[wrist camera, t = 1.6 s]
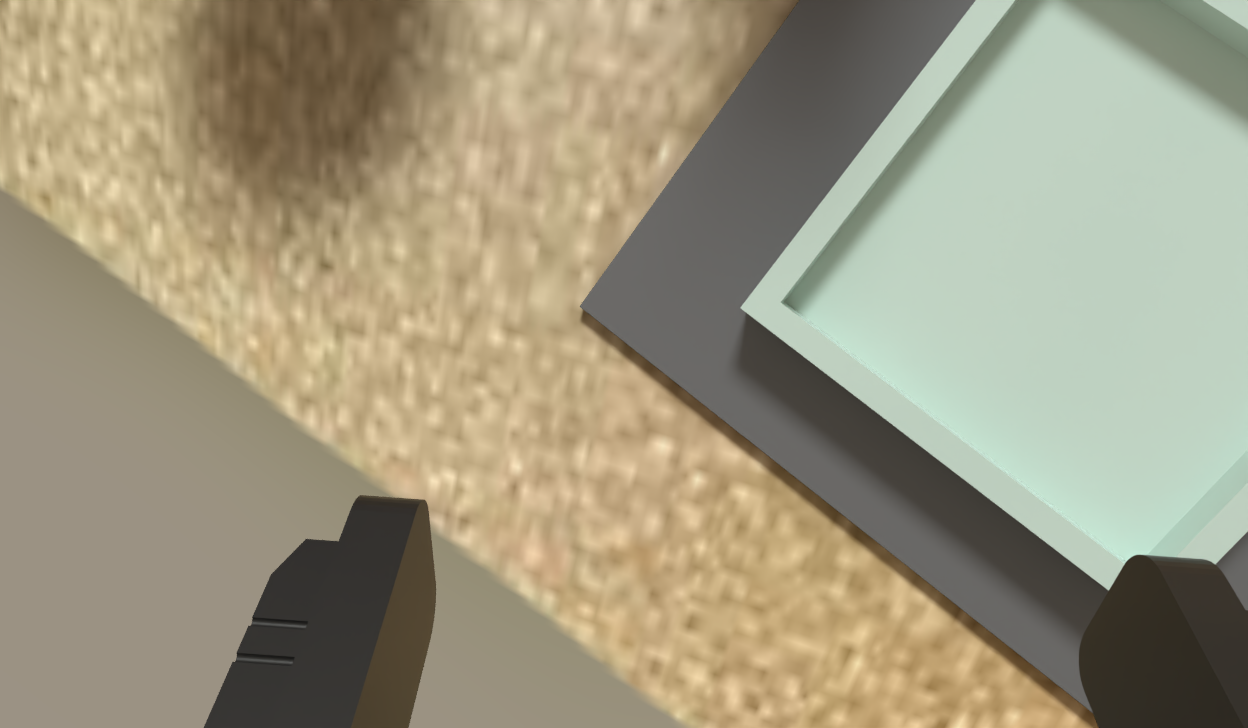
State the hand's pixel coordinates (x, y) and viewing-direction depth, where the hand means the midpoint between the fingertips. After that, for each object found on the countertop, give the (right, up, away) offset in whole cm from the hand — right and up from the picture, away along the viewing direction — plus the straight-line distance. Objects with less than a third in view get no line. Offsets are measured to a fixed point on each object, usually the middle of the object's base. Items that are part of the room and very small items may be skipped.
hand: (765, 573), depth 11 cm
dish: (+11, +5, +14) cm, 19 cm away
